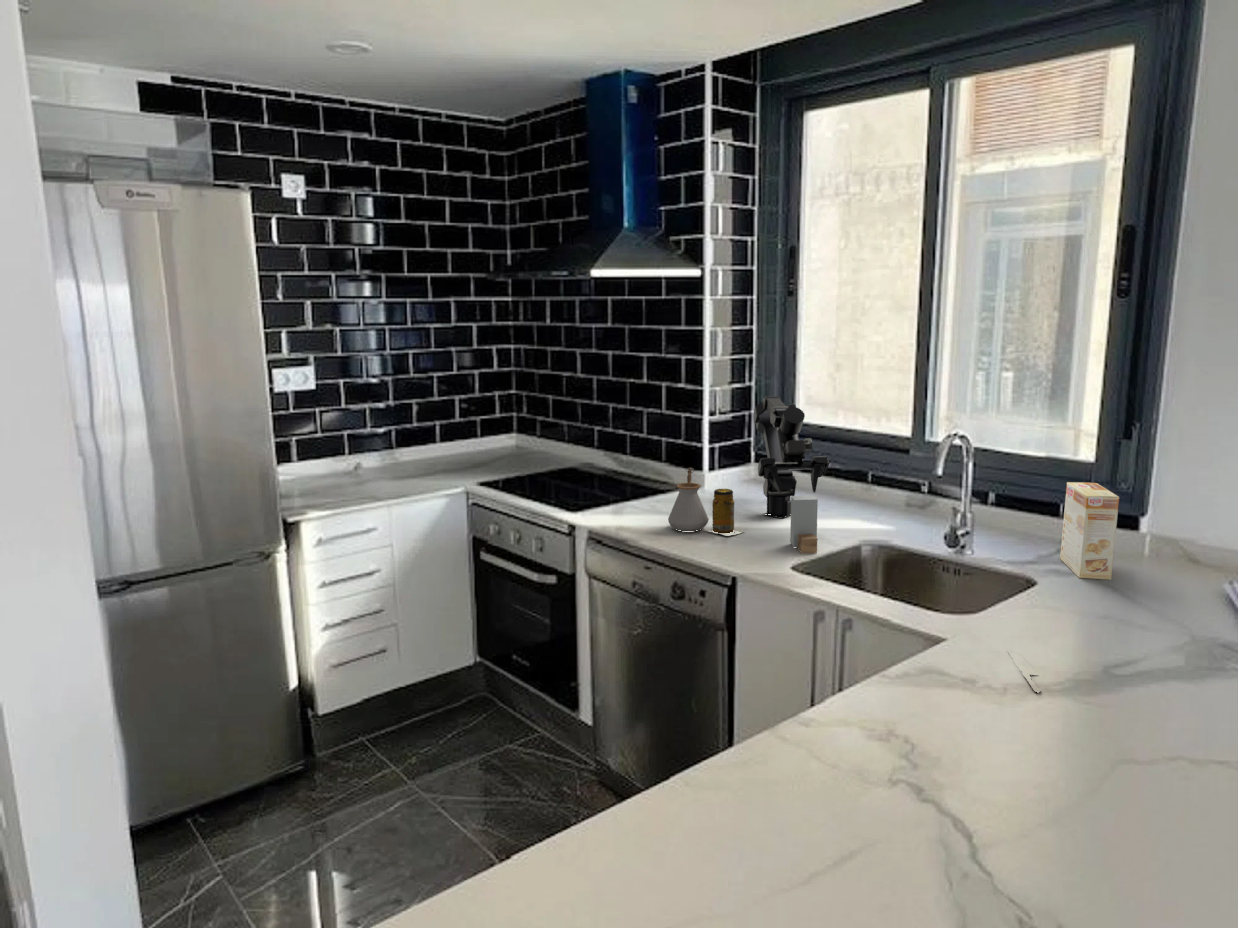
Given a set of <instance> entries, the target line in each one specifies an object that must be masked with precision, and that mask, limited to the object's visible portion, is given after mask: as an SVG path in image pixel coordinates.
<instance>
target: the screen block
mask: <svg viewBox="0 0 1238 928" xmlns="http://www.w3.org/2000/svg"><path fill="white" fill-rule="evenodd" d="M790 500H791V515H790V533H789V534H790V539H789V540H790V542H789V544H790V543H791V544H792V545H793V547H798V534H814V535H815V536H816V537H817V536H818V501H819V499H818V498H817V497H816V496H815V495H797V496H796V495H794V496H790ZM817 538H818V537H817ZM791 544H790V545H791ZM793 547H792V548H793Z"/></svg>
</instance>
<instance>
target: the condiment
mask: <svg viewBox="0 0 1238 928" xmlns="http://www.w3.org/2000/svg"><path fill="white" fill-rule="evenodd" d="M711 523H712V526H711V527H712V530H713V531H714V532H718V533H730V532H733V530H735V500H734V491H733V490H732V489H730V488H717V489H715V490H714V491H713V500H712V522H711Z"/></svg>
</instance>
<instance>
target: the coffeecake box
mask: <svg viewBox="0 0 1238 928" xmlns="http://www.w3.org/2000/svg"><path fill="white" fill-rule="evenodd" d="M1064 501H1065V502H1064V510H1063V511H1064V512H1063V524H1062V533H1061V534H1062V535H1061V547H1060V557H1059V559H1060V560H1061V561H1062V562H1063V563H1064V564H1065V565H1066V566H1067V567H1068V569H1070V570H1071V571H1072V572H1073V573H1074V574H1075V575H1076V577H1078V578H1079V579H1091V580H1107V581H1108V580H1112V573H1113V564H1114V563H1113V562H1114V554H1115V544H1116V533H1117V525H1118V515H1119V514H1118V512H1119V503H1120V496H1118V494H1115V493H1113V492H1112V491H1111V490H1109V489H1107V488H1106V487H1104V486H1102V485H1100V484H1099V483H1097V482H1087V481H1086V482H1085V481H1084V482H1083V481H1082V482H1078V481H1077V482H1070V481H1067V482H1066V489H1065V499H1064Z"/></svg>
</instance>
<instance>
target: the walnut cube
mask: <svg viewBox="0 0 1238 928" xmlns="http://www.w3.org/2000/svg"><path fill="white" fill-rule="evenodd" d="M798 548H799V550H800V551H801V552H800V551H799V550H798V551H799V552H800V554H818V537H816V536H815V535H814V534H798ZM798 548H797V549H798Z"/></svg>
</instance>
